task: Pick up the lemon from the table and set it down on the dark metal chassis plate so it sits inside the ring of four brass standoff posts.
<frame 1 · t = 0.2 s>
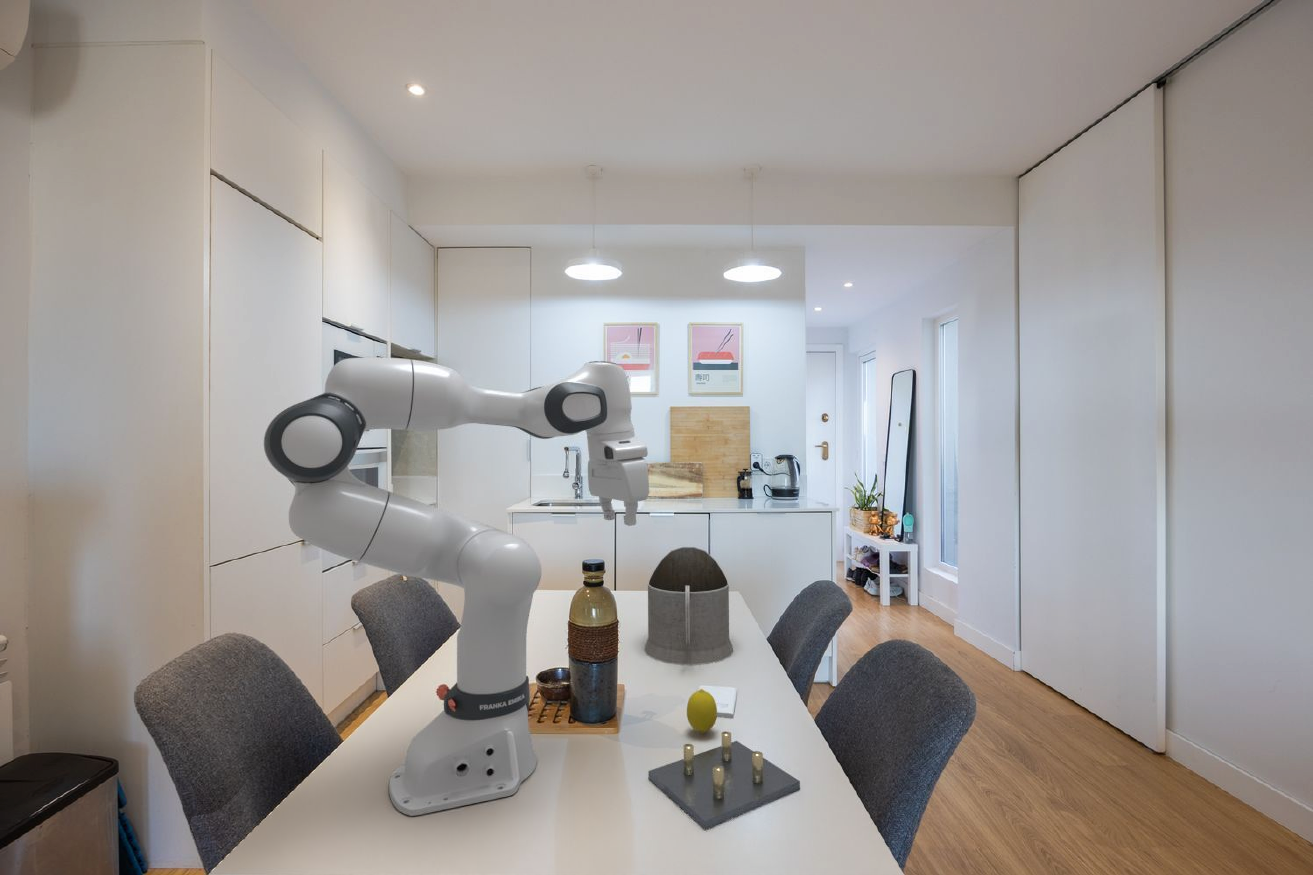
hand: (619, 522, 110), 39 cm above the table, tool pointing down, fingers open, 8 cm apart
chassis: (722, 783, 92), on the table
lemon: (702, 734, 108), on the table
external hard drive: (715, 706, 121), on the table
pitcher: (688, 655, 150), on the table
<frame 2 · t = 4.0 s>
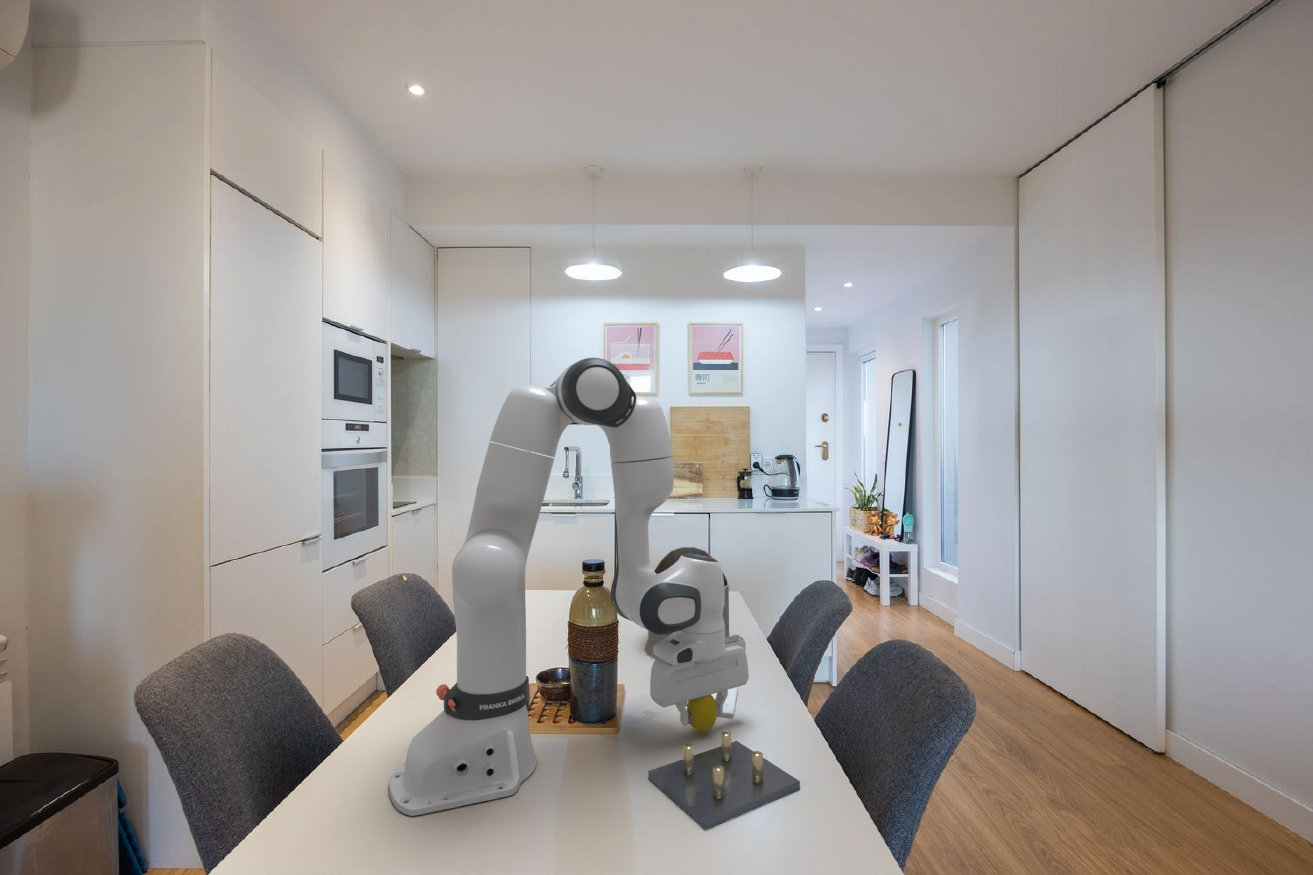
hand: (701, 718, 108), 3 cm above the table, tool pointing down, fingers closed on lemon, 5 cm apart
lemon: (702, 734, 108), on the table, touching gripper
everything else where it was.
when the fingers open (6 cm above the table, at t = 9.5 s): lemon stays where it is, resting on chassis.
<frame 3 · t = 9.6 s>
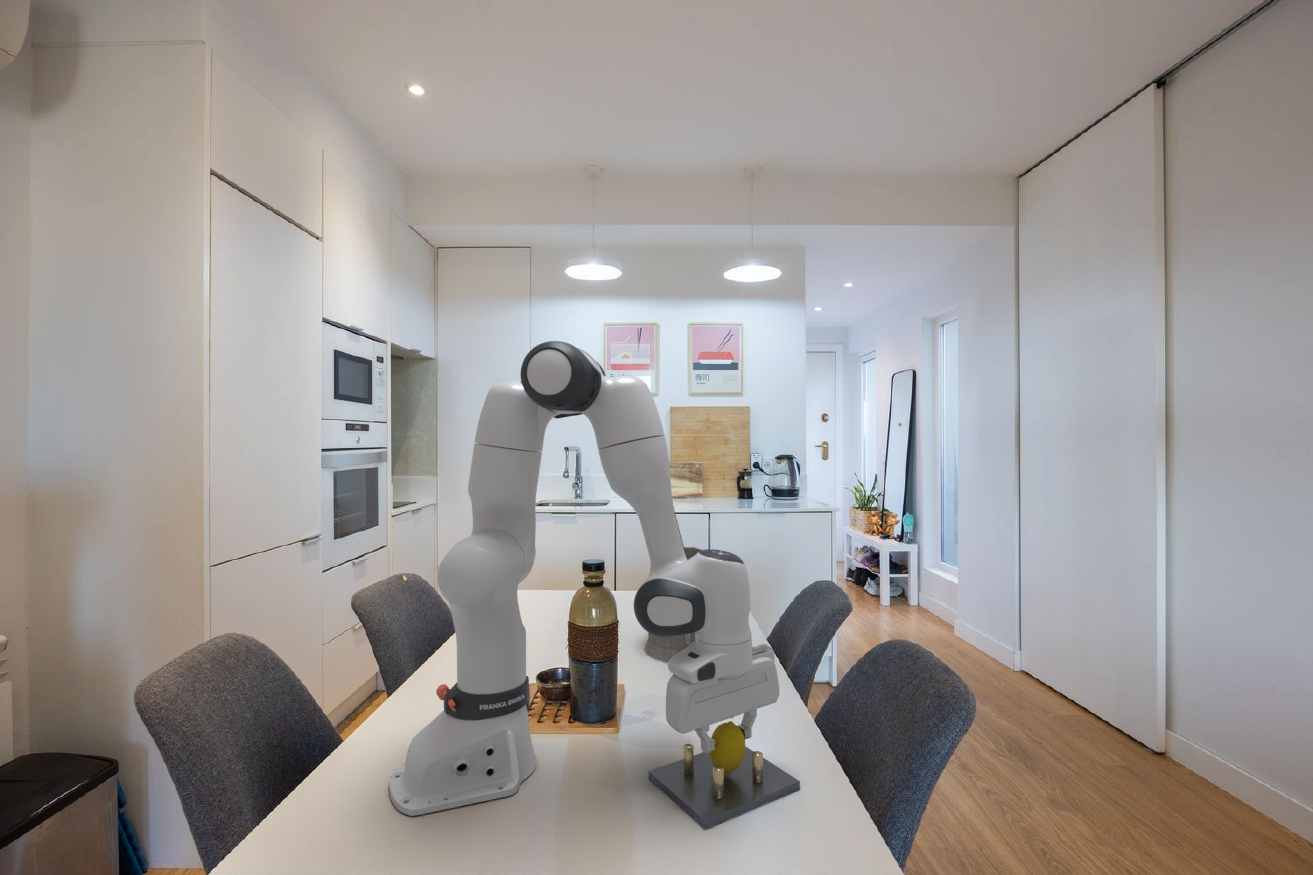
hand: (726, 744, 92), 6 cm above the table, tool pointing down, fingers open, 6 cm apart
lemon: (722, 775, 92), point 1 cm above the table, touching chassis, gripper
everything else where it was.
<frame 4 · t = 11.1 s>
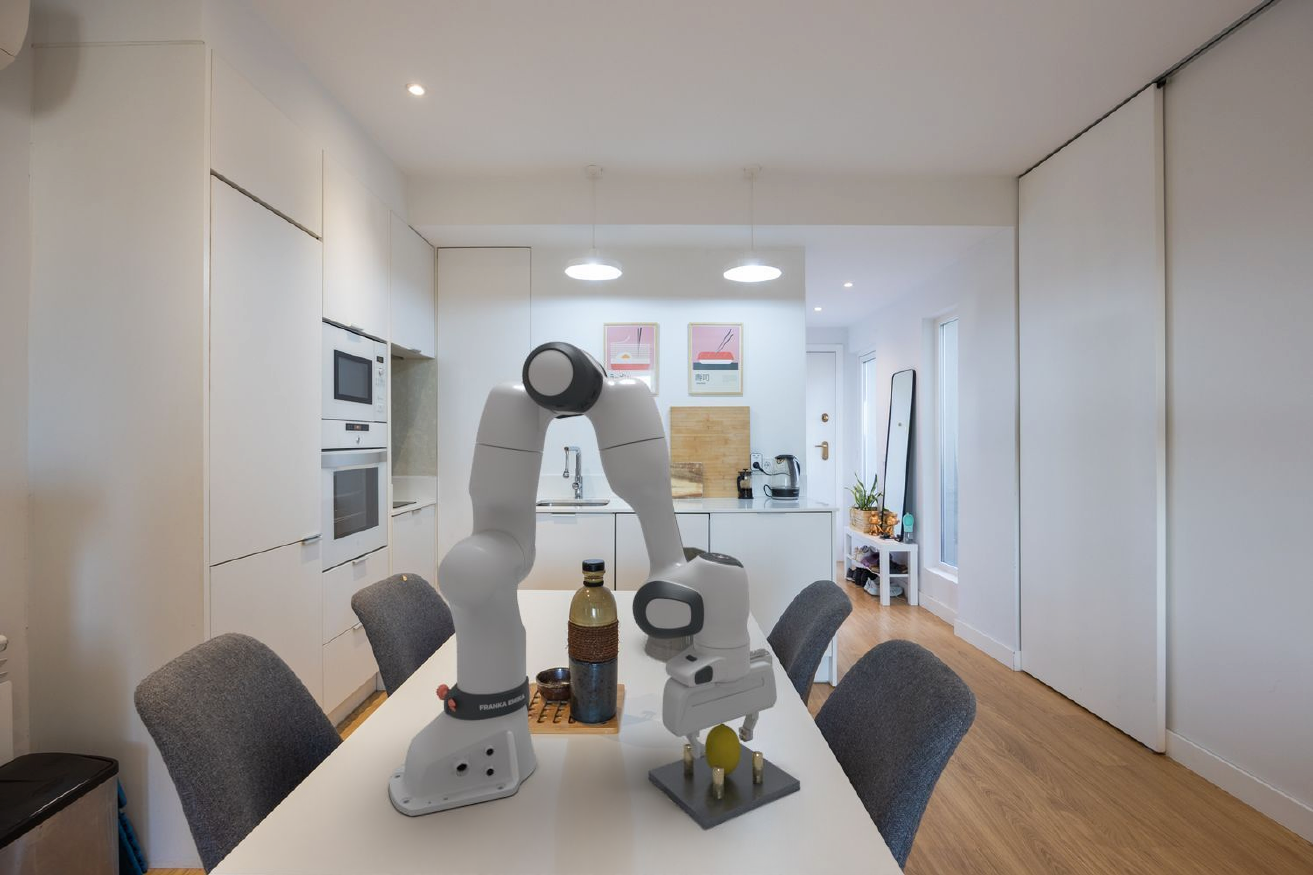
hand: (722, 747, 92), 6 cm above the table, tool pointing down, fingers open, 8 cm apart
lemon: (723, 777, 92), point 1 cm above the table, touching chassis
everything else where it was.
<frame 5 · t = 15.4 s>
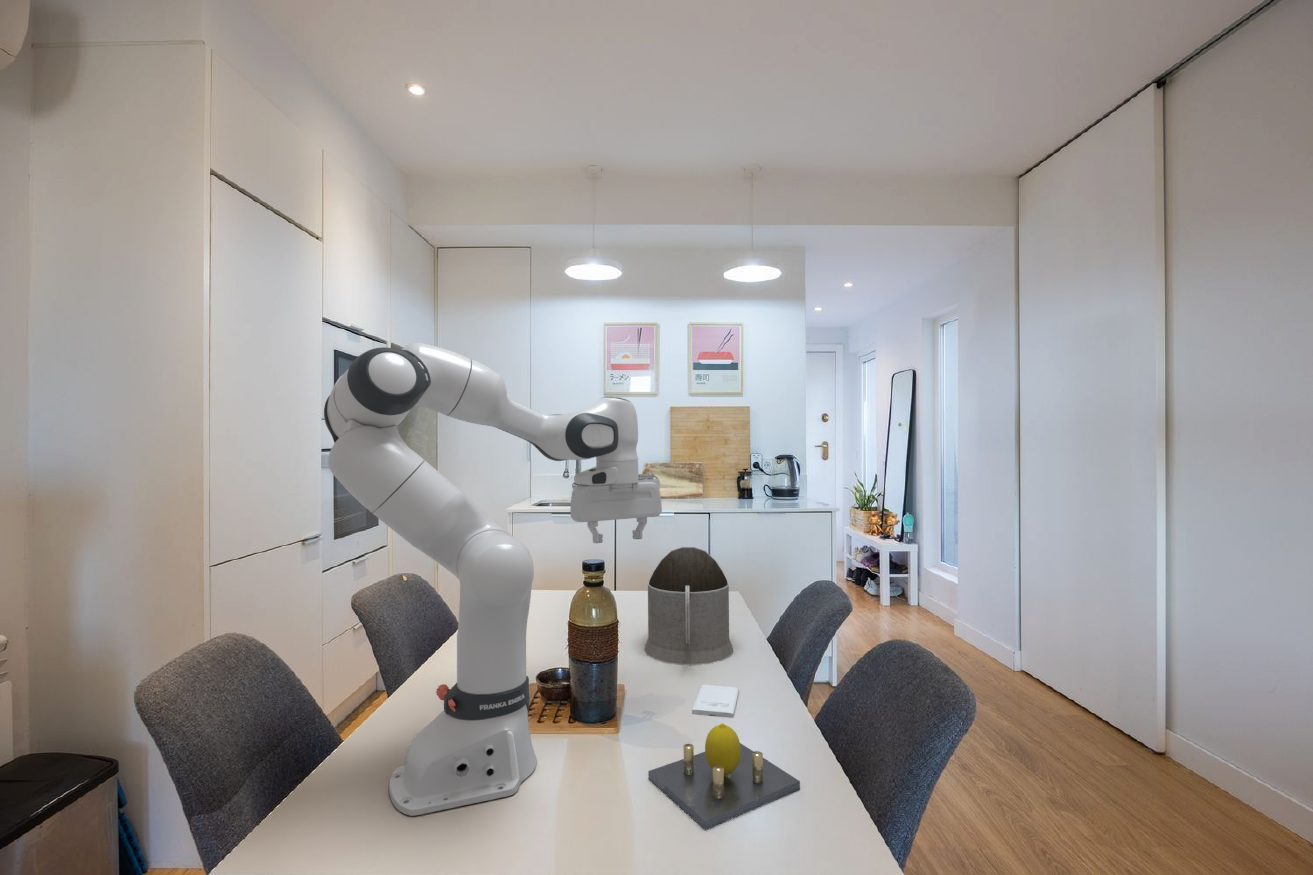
hand: (617, 540, 124), 33 cm above the table, tool pointing down, fingers open, 8 cm apart
nothing on the table moved.
at the end: lemon 0.0 cm off-centre on the chassis, point 1.0 cm above the chassis's base; the gripper is holding nothing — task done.
